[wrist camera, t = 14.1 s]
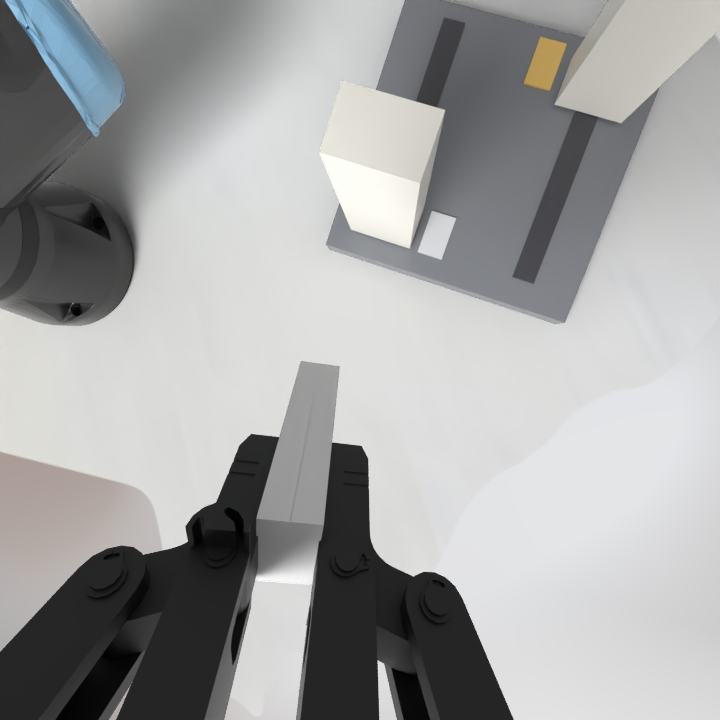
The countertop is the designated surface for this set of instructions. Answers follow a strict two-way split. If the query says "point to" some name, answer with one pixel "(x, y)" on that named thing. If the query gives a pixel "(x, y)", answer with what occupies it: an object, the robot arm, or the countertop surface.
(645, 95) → the cream white tall block
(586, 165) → the switch panel
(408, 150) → the block
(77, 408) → the countertop surface
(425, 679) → the robot arm
